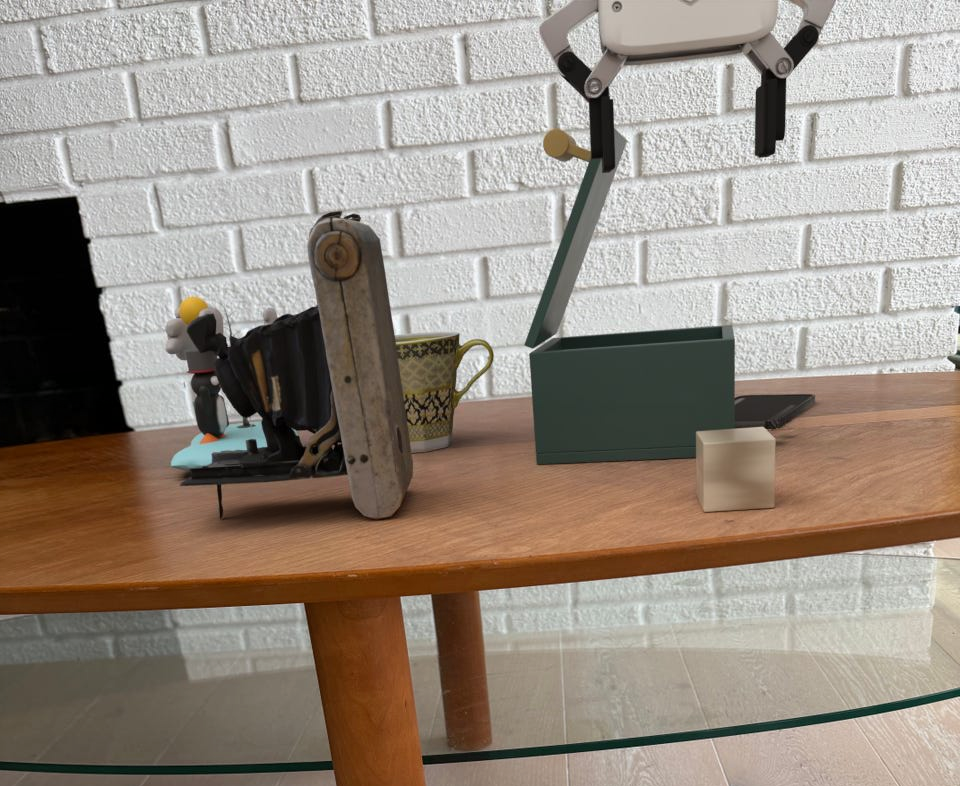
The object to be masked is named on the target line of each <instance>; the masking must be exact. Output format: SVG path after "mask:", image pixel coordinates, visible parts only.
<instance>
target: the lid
mask: <svg viewBox="0 0 960 786" xmlns="http://www.w3.org/2000/svg"><path fill="white" fill-rule="evenodd" d="M614 138H615V168H614V170H611V172H609V173H602V158H598V159H591V150H589V149H586V148H583V147H581V146H579V145H578V144H577V142H576V140H575V138H574V137H573V136H572V135H570V134H568V133H567V132H565V131H564V130H562V129H560V128H552V129H550V130H549V131H547V132H546V134H545V135H544V136H543V140H542V148H543V151H544V152H545V154H546V155H547V156H548V157H550V158H553V159H555V160H556V161H559V162H562V163H563V162H564V163H565V162H569V161H570V160H572V159H574V158H576V159H579V160H581V161H585V162H586V163H587V166H586V169H585V171H584V174H583V178H582V180H581V183H580V186H579V188H578V192H577V194H576V197H575V200H574V203H573V206H572V209H571V211H570V214H569V217H568V219H567V223H566V226H565V228H564V231H563V234H562V237H561V239H560V242H559V245H558V248H557V251H556V254H555V257H554V260H553V263H552V265H551V268H550V271H549V274H548V277H547V279H546V282H545V285H544V288H543V291H542V294H541V297H540V299H539V302H538V304H537V307H536V310H535V313H534V316H533V319H532V322H531V324H530V327H529V329H528V332H527V336H526V339H525V342H524V346H525V347H528V348H530V349H536V348H538V346H541V344H544V343H545V342H547V341H549V340H550V339H552V338H553V337H555V336H556V335H557V333H558V331H559V329H560V326H561V323H562V320H563V318H564V314H565V312H566V310H567V306H568V304H569V302H570V298H571V296H572V293H573V290H574V288H575V285H576V282H577V280H578V276H579V274H580V271H581V268H582V265H583V263H584V260H585V258H586V255H587V252H588V249H589V246H590V243H591V241H592V239H593V236H594V232H595V230H596V228H597V225H598V223H599V219H600V217H601V214H602V211H603V208H604V205H605V203H606V200H607V197H608V195H609V191H610V189H611V187H612V183H613V181H614V178H615V177H616V176H615V175H616V172H617V171H618V168H619V164H620V162H621V159H622V156H623V154H624V151H625V148H626V146H627V143H628V140H627V139H626V138H625V137H624V136H623V134H621V133H620V132H619V130H618V129H616V127H614Z"/></svg>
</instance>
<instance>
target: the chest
mask: <svg viewBox="0 0 960 786" xmlns="http://www.w3.org/2000/svg"><path fill="white" fill-rule="evenodd" d="M528 355H529V371H530V372H529V373H530V386H531V399H532V400H531V403H532V415H533V417H532V418H533V429H534V430H533V432H534V444H535V445H534V447H535V448H534V449H535V462H536V465H538V466H539V465H559V464H583V463H604V462H607V463H608V462H626V461H627V460H631V461H653V460H675V459H676V460H677V459H696V432H697V431H710V430H724V429H735V398H736V393H735V392H736V391H735V390H736V384H735V383H736V376H735V375H736V338H735V332H734V327H733V324H725V325H711V326H696V327H684V328H670V329H669V328H668V329H656V330H641V331H629V332H615V333H613V332H612V333H600V334H586V335H575V336H574V335H572V336H559V337H558V336H557V337H551V338H550V339H548V340H547V341H545V342H544V343H542V345H539V347H536V348H534V350H532V351H531V352H529V354H528Z"/></svg>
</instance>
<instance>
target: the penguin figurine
mask: <svg viewBox="0 0 960 786" xmlns="http://www.w3.org/2000/svg"><path fill="white" fill-rule="evenodd" d="M220 303H221V306H222V307H223V310H224V313H225V316H226V319H225V318H224V316H223V314H222V313H221V311H220V310H219V309H218V308H217V307H216V306H215V307H214V306H209V305H208V303H207V302H206V301H205V300H204V299H203V298H201V297H197V296H189V297H186V298H185V299H183V300H182V301H181V303H180V306H178V307H176V308H175V309H174V311H173V312H174V316H175V317H174V318H171V319H169V320H168V321H167V322H166V323H165V327H164V328H165V333H166V336H167V341H166V343H165V352H166V353H167V354H169V355H175V356H176V357H177V359H179V360H180V361H186V364H187V369H188V370H187V371H186V373H187V374H192V377H191V379H190V387H191V390H192V391H193V393H194V394H195V395H196V396H195V398H194V400H193V401H192V406H193V410H194V415H195V420H196V425H197V427H198V430H199V432H200V433H199V434H196V435H195V436H194V438H192V440H191V442H190V445H189V446H186V447H185V448H183V449H181V450H179V451H178V452H176V453H175V454H174V456H173V457H172V459H171V462H170V466H171V468H174V469H177V470H182V471H185V472H190V469H193V468H203V466H207V465H209V464H211V463H212V453H213V452H221V451H227V450H230V451H234V450H247V447H246V440H249V439H256V442H257V448H261V447H267V443H266V438H265V435H264V432H263V429H262V424H261V422H262V421H249V420H251V419H252V416H250V417H249V418H244V417H242V422H238V423H231V424H230V421H229V415H228V411H227V407H226V403H225V402H226V401H225V397H223V396H222V395H221V394H219V393H220V391H222V388H221V386H220V384H219V381H218V379H217V377H216V374H215V370H214V361H215V360H216V359H218V358H219V357H218V356H215V354H214V351H207V352H204V353H200V352H199V350H198V349H197V348H196V346H195V345H194V343H193V342H192V340H191V339H190V337H189V335H188V333H187V327H188V326H189V324H190V323H191V322H192V321H193V320H194V319H196V318H198V317H200V316H203V315H205V314H212V313H214V316H215V319H216V334H218V333H221V334H223V335H224V336H225V334H224V333H225V332H224V331H227V330H228V331H229V337H228V339H229V338H230V337H231V336H233V337H235V335H237V333H240V330H238V331H237V332H235V334H233V333H232V328H231V327H232V322H230V320H229V317H230V316H231V315H233V314H235V312H236V310H234V311H232V312H231V313H230V314H229V315H228V313H227V311H226V306H225V304H222V302H221V301H220ZM262 318H263V325H269V324H272V323H273V322H274V321H275V320H276V319H277V318H278V313H277V311H276V309H275V308H273V307H267V308H265V309H264V310H263V311H262ZM224 321H225V323H227V324H228V327H224ZM229 343H230V344H229V345H228V347H229V346H231V342H230V341H229ZM182 385H183V388H184V389H185V391H186V389H187V388H186V382H182ZM293 430H294V429H293ZM294 432H295V434H296V436H298V431H296V430H294Z"/></svg>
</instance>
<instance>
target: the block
mask: <svg viewBox="0 0 960 786" xmlns="http://www.w3.org/2000/svg"><path fill="white" fill-rule="evenodd" d="M776 443H777V439H776V437H774V436H773V434H772V433H770V431H769V430H766V429H765V428H764V427H752V428H738V429H724V430H710V431H697V432H696V458H695V479H696V480H695V481H696V482H695V485H696V487H695V488H696V490H695V491H696V493H695V494H696V495H695V496H696V498H697V501H698V502H699V504H700V506H701V508H702V510H703V511H702V512H704V513H713V512H728V511H730V512H731V511H745V510H747V511H748V510H761V509H775V503H776V501H775V499H776V491H775V490H776V448H777V447H776Z"/></svg>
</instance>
